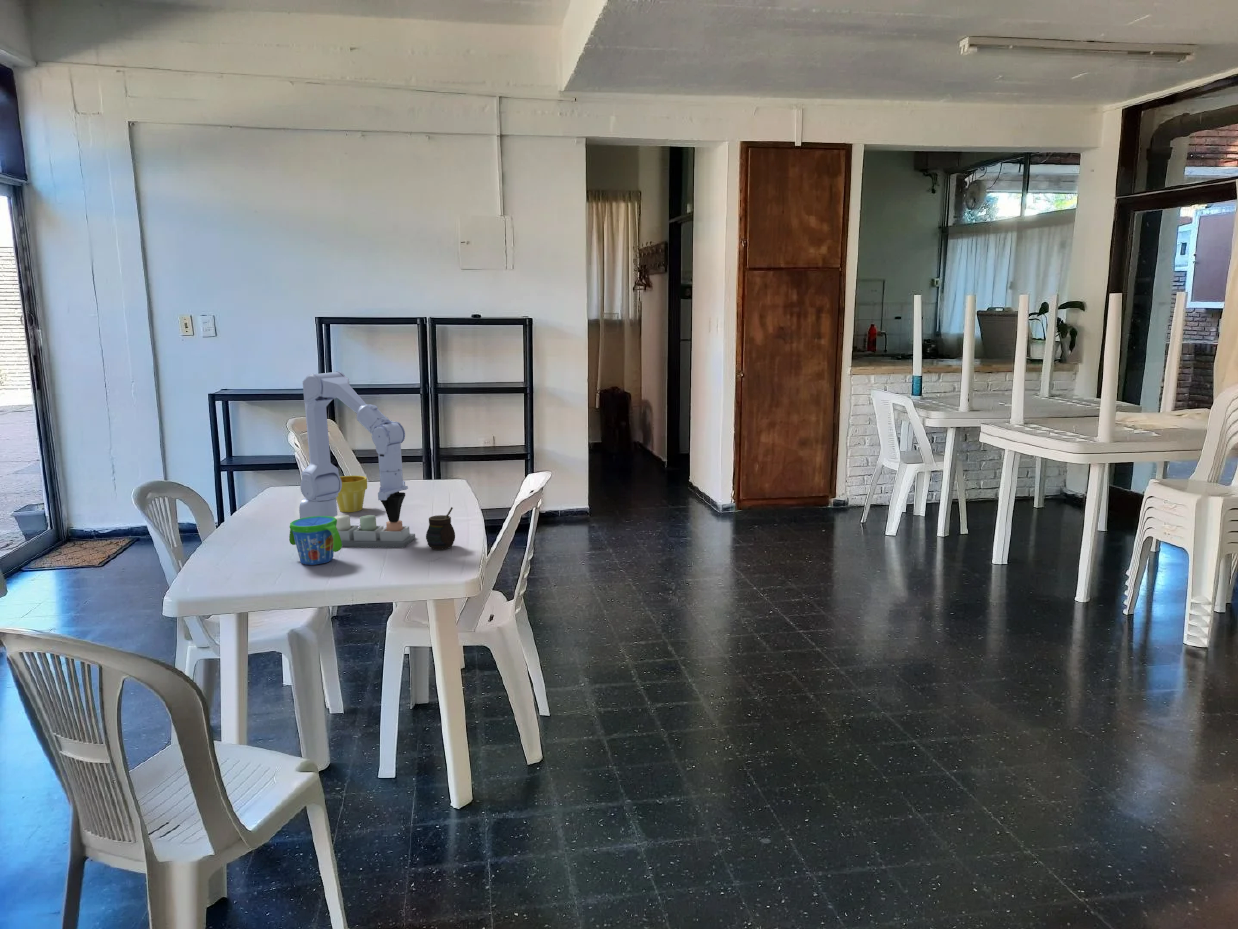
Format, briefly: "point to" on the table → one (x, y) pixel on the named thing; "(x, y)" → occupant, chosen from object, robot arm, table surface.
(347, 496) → the plant pot
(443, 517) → the mate gourd
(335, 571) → the table surface
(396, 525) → the terracotta button
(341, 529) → the cream button
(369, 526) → the sage button
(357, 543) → the button panel
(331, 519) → the snack cup
